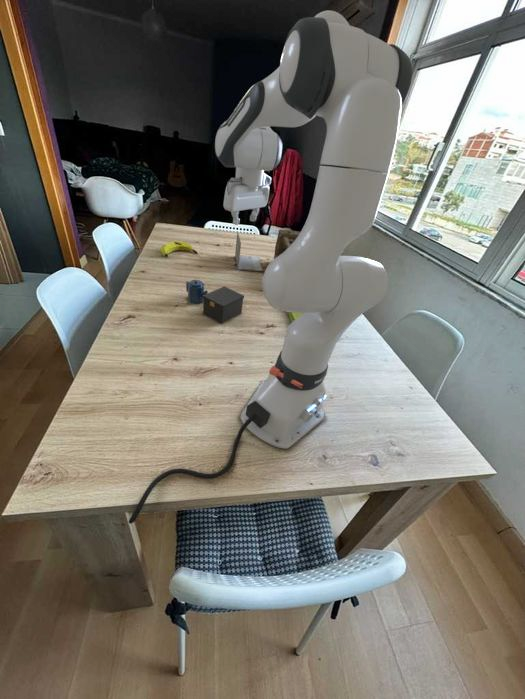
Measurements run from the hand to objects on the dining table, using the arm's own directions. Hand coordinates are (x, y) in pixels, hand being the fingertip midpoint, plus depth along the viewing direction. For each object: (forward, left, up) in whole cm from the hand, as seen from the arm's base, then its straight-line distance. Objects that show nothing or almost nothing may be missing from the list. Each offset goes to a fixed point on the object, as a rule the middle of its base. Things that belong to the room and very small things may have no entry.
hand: (244, 222), depth 102 cm
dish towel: (+11, -26, -29) cm, 41 cm away
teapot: (-14, +9, -29) cm, 34 cm away
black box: (-14, -5, -29) cm, 33 cm away
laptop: (+33, +19, -29) cm, 48 cm away
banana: (+13, +48, -29) cm, 58 cm away
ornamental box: (+40, -4, -29) cm, 50 cm away
